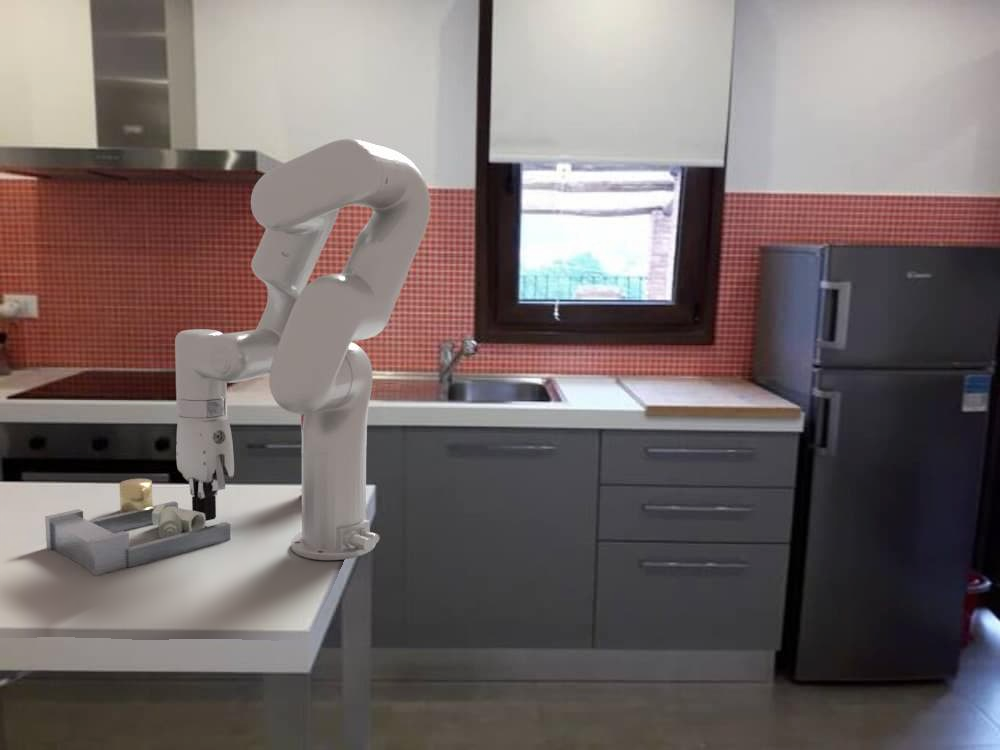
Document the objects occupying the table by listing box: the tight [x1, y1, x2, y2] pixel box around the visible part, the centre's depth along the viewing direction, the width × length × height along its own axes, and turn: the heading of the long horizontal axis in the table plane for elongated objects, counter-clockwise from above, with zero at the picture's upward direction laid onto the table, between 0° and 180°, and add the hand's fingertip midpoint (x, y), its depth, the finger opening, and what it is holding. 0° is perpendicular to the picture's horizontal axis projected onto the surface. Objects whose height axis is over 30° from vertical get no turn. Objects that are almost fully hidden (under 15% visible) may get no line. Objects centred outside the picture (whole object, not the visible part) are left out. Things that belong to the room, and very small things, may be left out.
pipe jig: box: [44, 501, 231, 576], centre depth 123 cm, size 16×20×5 cm
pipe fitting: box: [152, 503, 207, 539], centre depth 128 cm, size 8×4×7 cm
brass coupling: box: [119, 478, 154, 513], centre depth 138 cm, size 5×5×5 cm
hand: (204, 519), depth 132 cm, fingers closed
